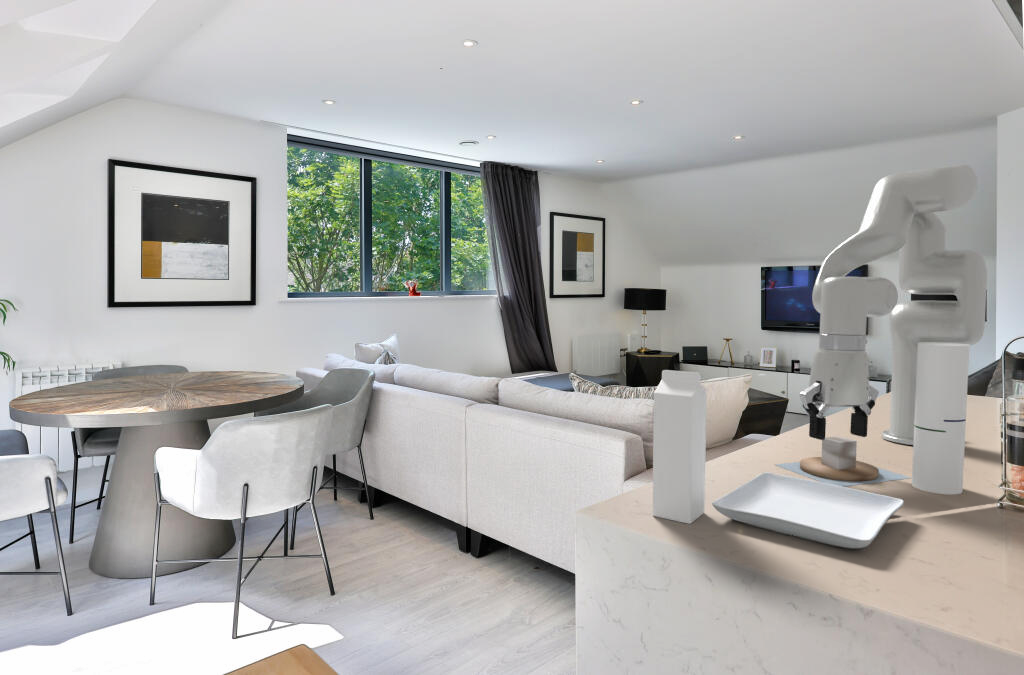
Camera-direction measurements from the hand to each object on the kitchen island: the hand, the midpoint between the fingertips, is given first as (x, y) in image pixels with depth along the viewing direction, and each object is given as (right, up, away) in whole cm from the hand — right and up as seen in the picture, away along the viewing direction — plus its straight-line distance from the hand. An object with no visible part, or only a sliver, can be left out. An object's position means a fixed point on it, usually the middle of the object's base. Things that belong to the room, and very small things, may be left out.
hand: (837, 436), depth 116 cm
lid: (+1, -7, +1) cm, 7 cm away
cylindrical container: (+12, -8, -9) cm, 17 cm away
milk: (-35, -9, -20) cm, 41 cm away
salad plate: (-16, -9, -22) cm, 29 cm away
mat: (+1, -7, +1) cm, 7 cm away
